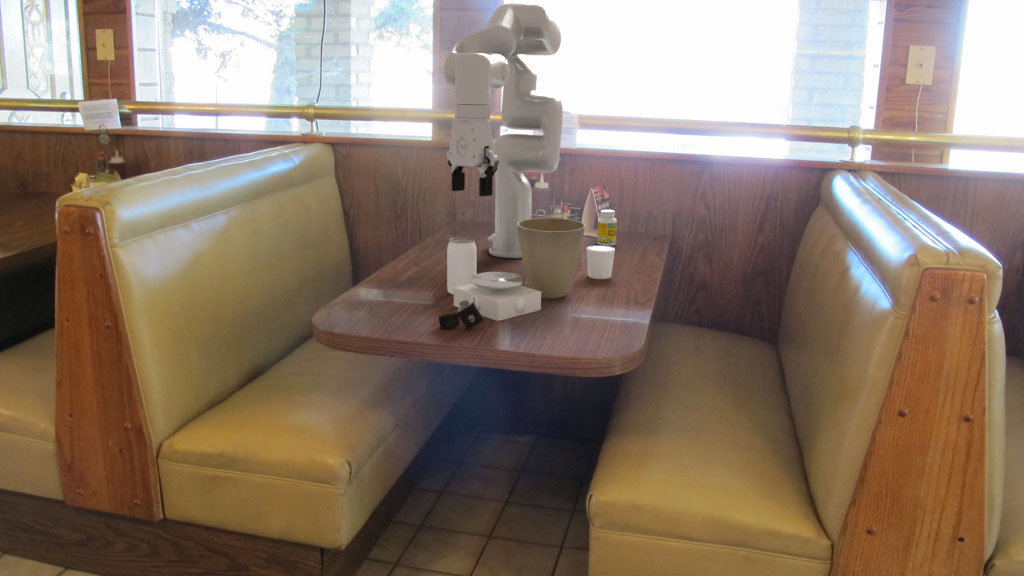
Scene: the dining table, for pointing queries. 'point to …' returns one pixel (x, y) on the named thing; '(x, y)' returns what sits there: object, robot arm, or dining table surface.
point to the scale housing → (499, 300)
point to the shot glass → (600, 261)
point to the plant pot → (550, 253)
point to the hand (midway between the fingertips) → (471, 193)
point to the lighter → (461, 316)
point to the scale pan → (497, 280)
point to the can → (460, 262)
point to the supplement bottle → (607, 228)
